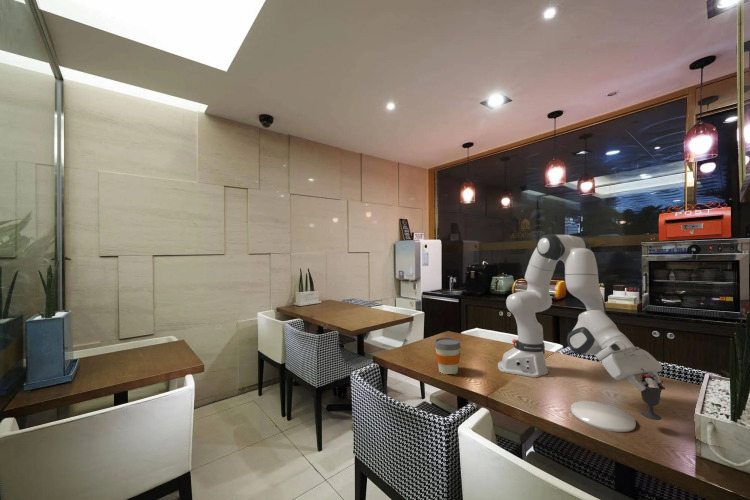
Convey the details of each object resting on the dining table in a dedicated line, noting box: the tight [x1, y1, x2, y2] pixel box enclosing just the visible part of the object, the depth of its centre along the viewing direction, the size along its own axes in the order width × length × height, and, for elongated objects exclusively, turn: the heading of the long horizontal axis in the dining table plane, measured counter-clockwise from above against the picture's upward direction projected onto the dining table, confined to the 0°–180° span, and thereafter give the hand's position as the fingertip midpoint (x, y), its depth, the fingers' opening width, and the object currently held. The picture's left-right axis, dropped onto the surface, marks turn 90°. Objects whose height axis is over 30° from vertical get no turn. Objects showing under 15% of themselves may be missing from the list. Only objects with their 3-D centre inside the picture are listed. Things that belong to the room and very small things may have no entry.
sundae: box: [637, 369, 666, 421], centre depth 98 cm, size 7×7×15 cm
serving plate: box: [570, 400, 637, 433], centre depth 105 cm, size 18×18×1 cm
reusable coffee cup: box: [434, 337, 461, 375], centre depth 149 cm, size 13×12×15 cm
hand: (652, 388), depth 97 cm, fingers closed on sundae, 7 cm apart
